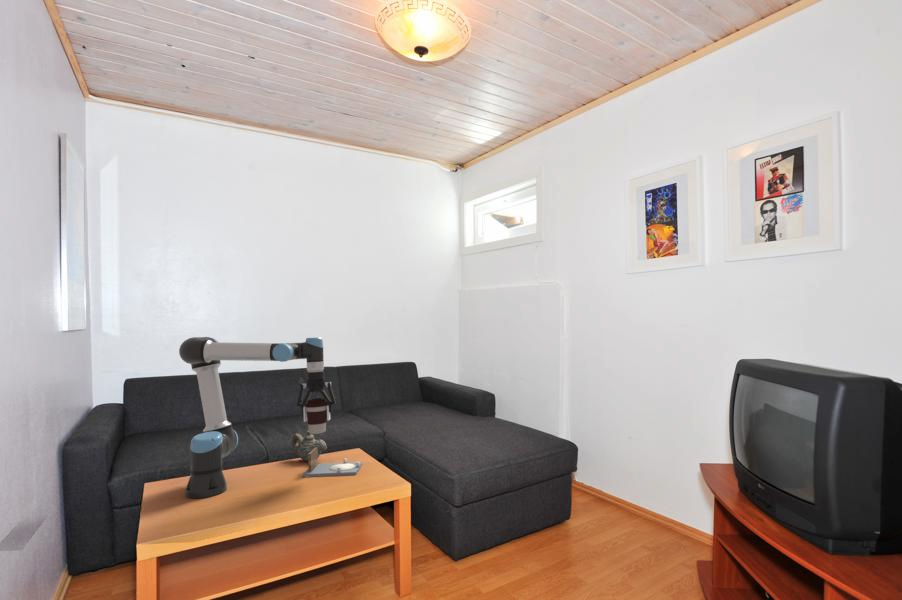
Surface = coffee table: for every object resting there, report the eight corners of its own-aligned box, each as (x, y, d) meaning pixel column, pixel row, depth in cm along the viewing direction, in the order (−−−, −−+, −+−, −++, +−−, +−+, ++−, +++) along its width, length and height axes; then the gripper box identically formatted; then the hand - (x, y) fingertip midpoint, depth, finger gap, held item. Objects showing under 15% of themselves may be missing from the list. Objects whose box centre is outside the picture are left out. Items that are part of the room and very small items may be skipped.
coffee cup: (301, 434, 207) (300, 400, 208) (316, 429, 216) (315, 397, 217) (318, 435, 202) (317, 400, 204) (333, 430, 211) (332, 397, 213)
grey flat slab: (302, 477, 207) (302, 469, 208) (312, 466, 224) (312, 459, 225) (356, 474, 208) (356, 467, 209) (362, 464, 225) (362, 457, 226)
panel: (304, 471, 210) (304, 454, 211) (311, 464, 222) (311, 447, 223) (311, 471, 210) (310, 453, 211) (317, 464, 222) (317, 447, 223)
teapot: (332, 459, 237) (332, 429, 238) (318, 465, 226) (318, 433, 227) (299, 456, 245) (299, 427, 246) (284, 461, 234) (284, 431, 236)
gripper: (288, 373, 207) (289, 423, 206) (338, 370, 208) (340, 420, 206) (293, 371, 215) (295, 420, 213) (342, 369, 215) (343, 417, 213)
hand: (317, 420), depth 209 cm, fingers closed on coffee cup, 10 cm apart
